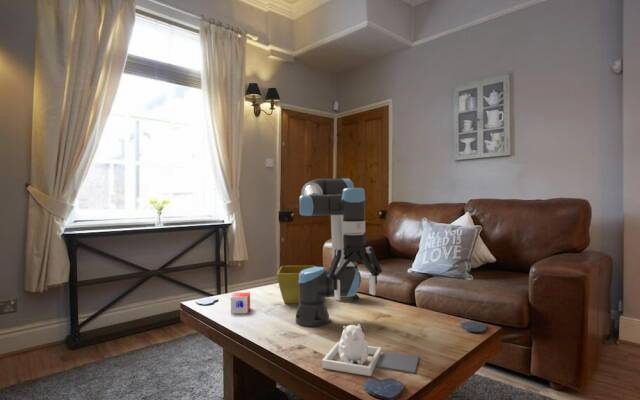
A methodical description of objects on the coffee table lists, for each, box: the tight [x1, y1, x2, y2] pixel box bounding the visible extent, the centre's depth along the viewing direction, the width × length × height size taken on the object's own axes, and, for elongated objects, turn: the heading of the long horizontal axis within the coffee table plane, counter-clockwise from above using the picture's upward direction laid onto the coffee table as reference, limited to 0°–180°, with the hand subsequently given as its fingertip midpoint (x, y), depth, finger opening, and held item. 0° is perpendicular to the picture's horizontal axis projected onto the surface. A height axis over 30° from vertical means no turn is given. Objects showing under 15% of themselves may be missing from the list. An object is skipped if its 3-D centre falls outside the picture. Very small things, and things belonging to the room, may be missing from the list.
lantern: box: [334, 261, 362, 304], centre depth 195 cm, size 14×14×25 cm
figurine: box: [338, 323, 369, 365], centre depth 121 cm, size 10×10×12 cm
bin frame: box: [321, 341, 382, 377], centre depth 121 cm, size 16×16×2 cm
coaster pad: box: [375, 350, 420, 375], centre depth 120 cm, size 12×12×1 cm
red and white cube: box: [230, 292, 251, 314], centre depth 178 cm, size 8×8×8 cm
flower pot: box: [276, 265, 316, 304], centre depth 194 cm, size 19×19×17 cm
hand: (355, 296), depth 122 cm, fingers open, 13 cm apart
